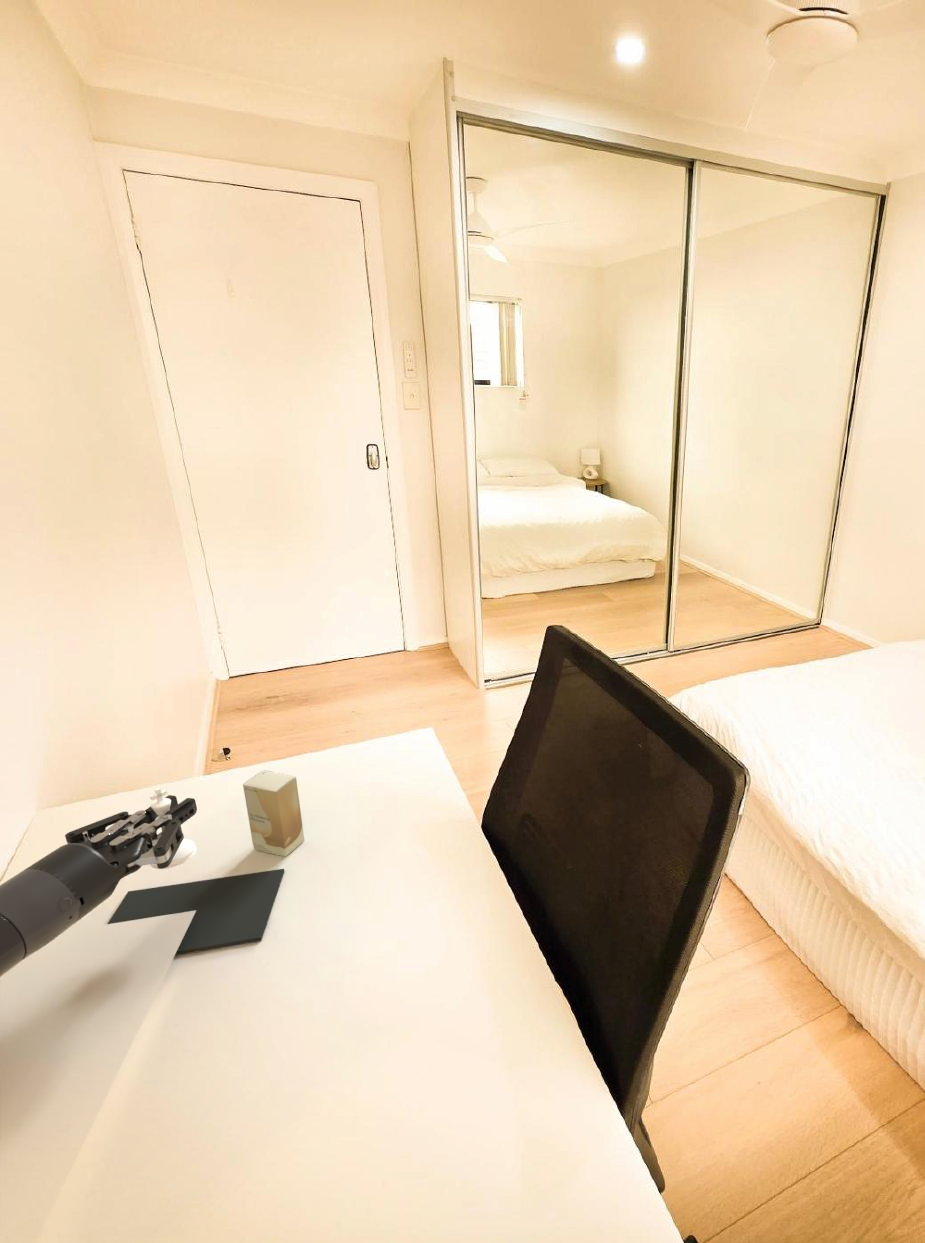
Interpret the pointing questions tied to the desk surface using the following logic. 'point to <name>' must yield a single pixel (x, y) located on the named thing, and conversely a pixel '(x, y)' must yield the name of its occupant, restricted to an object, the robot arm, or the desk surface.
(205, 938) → the mat
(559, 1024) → the desk surface
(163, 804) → the chess piece
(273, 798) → the cosmetic box
